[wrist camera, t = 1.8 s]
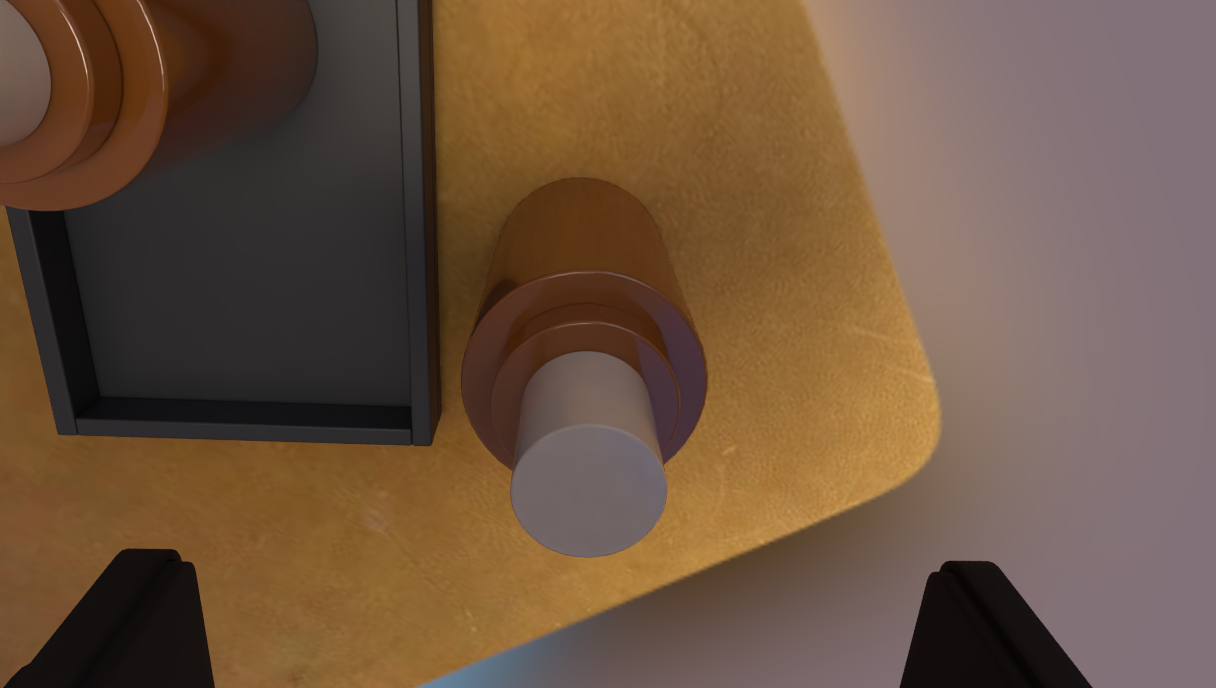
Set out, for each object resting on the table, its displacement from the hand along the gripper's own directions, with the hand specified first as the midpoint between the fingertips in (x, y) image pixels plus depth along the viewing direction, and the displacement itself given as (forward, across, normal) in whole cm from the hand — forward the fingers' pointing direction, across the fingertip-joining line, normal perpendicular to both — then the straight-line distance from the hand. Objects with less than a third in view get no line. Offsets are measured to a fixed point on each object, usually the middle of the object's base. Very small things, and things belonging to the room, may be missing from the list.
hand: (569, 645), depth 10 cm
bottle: (+16, +10, -6) cm, 19 cm away
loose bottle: (+16, 0, 0) cm, 16 cm away
